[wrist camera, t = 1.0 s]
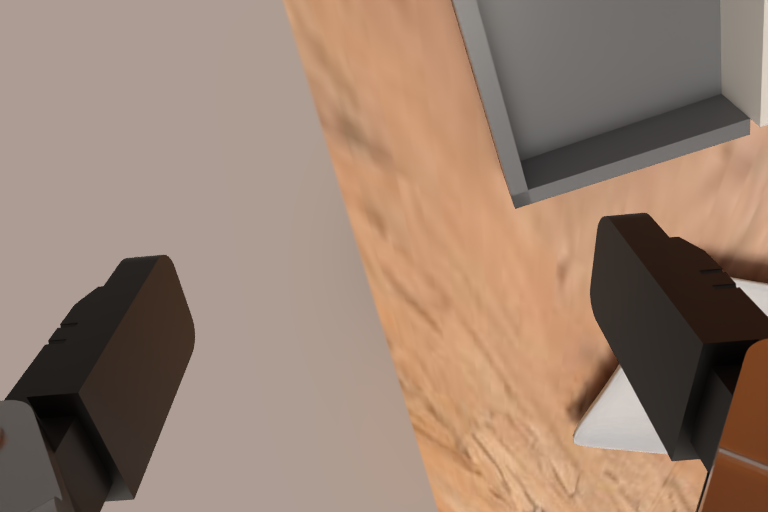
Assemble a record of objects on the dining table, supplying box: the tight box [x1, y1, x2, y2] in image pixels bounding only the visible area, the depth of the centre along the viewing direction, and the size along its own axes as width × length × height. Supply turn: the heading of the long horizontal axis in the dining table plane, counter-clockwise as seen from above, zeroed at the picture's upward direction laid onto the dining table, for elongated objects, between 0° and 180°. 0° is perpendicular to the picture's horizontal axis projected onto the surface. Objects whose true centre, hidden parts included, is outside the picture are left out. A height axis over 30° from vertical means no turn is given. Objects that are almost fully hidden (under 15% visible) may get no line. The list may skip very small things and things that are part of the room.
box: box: [451, 0, 750, 209], centre depth 30 cm, size 14×13×4 cm
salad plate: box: [573, 277, 768, 454], centre depth 48 cm, size 21×21×3 cm
